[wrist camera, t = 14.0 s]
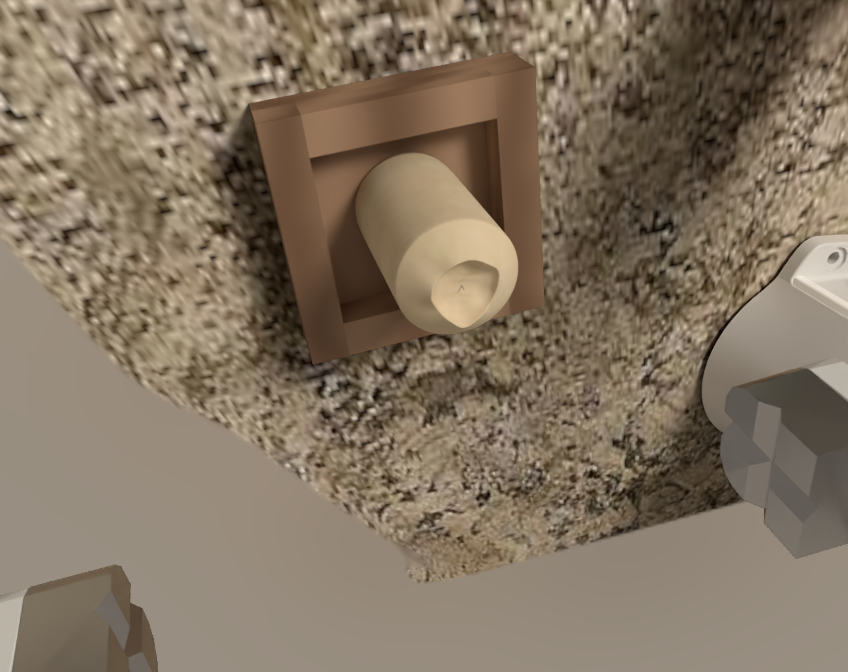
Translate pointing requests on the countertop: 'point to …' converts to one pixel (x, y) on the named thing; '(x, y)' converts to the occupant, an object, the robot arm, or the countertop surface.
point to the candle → (435, 244)
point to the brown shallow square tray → (366, 147)
